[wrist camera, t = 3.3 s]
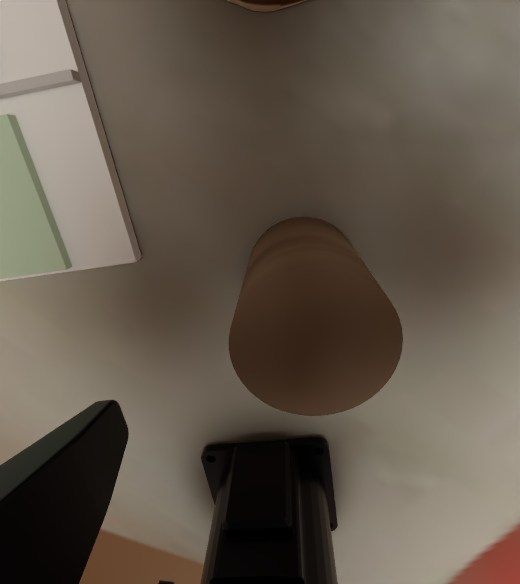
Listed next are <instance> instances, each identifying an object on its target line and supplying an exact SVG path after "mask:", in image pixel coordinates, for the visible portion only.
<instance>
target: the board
mask: <svg viewBox="0 0 520 584" xmlns="http://www.w3.org/2000/svg"><path fill="white" fill-rule="evenodd" d="M141 258H142V256H141V253H140V250H139V246H138V243H137V239H136V236H135V233H134V229H133V226H132V223H131V219H130V216H129V213H128V209H127V206H126V202H125V199H124V196H123V192H122V189H121V186H120V182H119V179H118V176H117V172H116V169H115V165H114V162H113V159H112V155H111V152H110V149H109V145H108V142H107V139H106V135H105V132H104V128H103V125H102V122H101V118H100V115H99V112H98V108H97V105H96V102H95V98H94V95H93V91H92V88H91V85H90V81H89V78H88V75H87V71H86V68H85V64H84V61H83V58H82V54H81V51H80V48H79V44H78V41H77V38H76V34H75V31H74V27H73V24H72V21H71V17H70V14H69V11H68V7H67V4H66V1H65V0H0V281H7V280H14V279H21V278H28V277H35V276H42V275H49V274H56V273H63V272H71V271H78V270H85V269H92V268H99V267H106V266H113V265H120V264H127V263H134V262H137V261H139V260H140V259H141Z"/></svg>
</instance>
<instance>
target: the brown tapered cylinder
mask: <svg viewBox="0 0 520 584" xmlns="http://www.w3.org/2000/svg"><path fill="white" fill-rule="evenodd" d="M402 341H403V337H402V328H401V324H400V320H399V317H398V315H397V312H396V310H395V308H394V307H393V305H392V303H391V302H390V300H389V299H388V297H387V296H386V294H385V293H384V291H383V290H382V289H381V287H380V286H379V284H378V283H377V281H376V280H375V278H374V277H373V275H372V274H371V273H370V271H369V270H368V268H367V267H366V265H365V264H364V262H363V261H362V259H361V258H360V257H359V255H358V254H357V252H356V251H355V249H354V248H353V246H352V245H351V243H350V242H349V240H348V239H347V238H346V237H345V235H344V234H343V233H342V232H341V231H340V230H339V229H337V228H336V227H334V226H333V225H331V224H329V223H327V222H325V221H323V220H319V219H315V218H308V217H300V218H293V219H288V220H285V221H282V222H280V223H278V224H276V225H274V226H273V227H271V228H270V229H269V230H267V231H266V232H265V233H264V234H263V235H262V236H261V238H260V239H259V240H258V242H257V243H256V245H255V247H254V249H253V251H252V254H251V257H250V260H249V264H248V267H247V271H246V275H245V278H244V282H243V285H242V289H241V292H240V296H239V300H238V303H237V307H236V310H235V314H234V318H233V321H232V325H231V328H230V335H229V351H230V358H231V361H232V364H233V367H234V369H235V371H236V373H237V375H238V377H239V378H240V380H241V381H242V383H243V384H244V385H245V386H246V388H247V389H248V390H249V391H250V392H251V393H252V394H254V395H255V396H256V397H257V398H259V399H260V400H261V401H263V402H265V403H266V404H268V405H270V406H272V407H274V408H277V409H279V410H282V411H285V412H288V413H292V414H298V415H307V416H321V415H329V414H335V413H339V412H343V411H346V410H348V409H351V408H354V407H356V406H358V405H360V404H362V403H363V402H365V401H366V400H368V399H370V398H371V397H372V396H374V395H375V394H376V393H377V392H378V391H379V390H380V389H381V388H382V387H383V386H384V385H385V384H386V383H387V382H388V380H389V379H390V378H391V376H392V374H393V373H394V371H395V369H396V367H397V364H398V362H399V359H400V355H401V351H402Z"/></svg>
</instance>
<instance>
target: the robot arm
mask: <svg viewBox="0 0 520 584" xmlns="http://www.w3.org/2000/svg"><path fill="white" fill-rule="evenodd" d="M127 441H128V427H127V424H126V421H125V419H124V416H123V413H122V411H121V408H120V405H119V403H118V402H117V401H115V400H105V401H98V402H96V403H94V404H92V405H91V406H89V407H88V408H86V409H85V410H83V411H82V412H80V413H79V414H77V415H76V416H74V417H73V418H71V419H70V420H68V421H67V422H65V423H64V424H62V425H61V426H59V427H58V428H56V429H55V430H53V431H52V432H50V433H49V434H47V435H46V436H44V437H43V438H41V439H40V440H38V441H37V442H35V443H34V444H32V445H31V446H29V447H28V448H26V449H25V450H23V451H21V452H20V453H18V454H17V455H15V456H14V457H12V458H11V459H9V460H8V461H6V462H5V463H3V464H2V465H0V584H79V582H80V579H81V577H82V574H83V571H84V569H85V567H86V564H87V561H88V559H89V556H90V554H91V551H92V548H93V546H94V543H95V541H96V538H97V536H98V533H99V531H100V528H101V525H102V523H103V520H104V518H105V515H106V512H107V509H108V506H109V503H110V500H111V497H112V494H113V490H114V487H115V483H116V479H117V476H118V472H119V469H120V465H121V462H122V458H123V455H124V451H125V448H126V444H127ZM317 447H321V448H319V449H318V448H317ZM210 455H213V456H210ZM201 460H202V463H203V467H204V470H205V473H206V477H207V480H208V483H209V487H210V490H211V493H212V497H213V500H214V504H215V509H214V514H213V520H212V525H211V530H210V536H209V541H208V547H207V552H206V557H205V563H204V569H203V574H202V579H201V584H338V583H337V575H336V568H335V560H334V552H333V544H332V536H331V531H333V530H335V529H336V528H337V516H336V507H335V499H334V490H333V481H332V472H331V463H330V455H329V447H328V443H327V441H326V440H325V439H324V438H321V437H313V438H300V439H287V440H274V441H261V442H248V443H235V444H222V445H210V446H206V447H205V448H204V449H203V452H202V456H201ZM159 584H174V582H170V581H162V580H161V581H159Z"/></svg>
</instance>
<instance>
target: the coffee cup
mask: <svg viewBox="0 0 520 584" xmlns="http://www.w3.org/2000/svg"><path fill="white" fill-rule="evenodd" d="M227 1H229V2H231V3H235V4H238V5H240V6H242V7H245V8H246V9H249V10H252V11H261V12H270V11H276V10H279V9H282V8H285V7H289V6H292V5H295V4H299V3H301V2H304V1H307V0H227Z"/></svg>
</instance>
